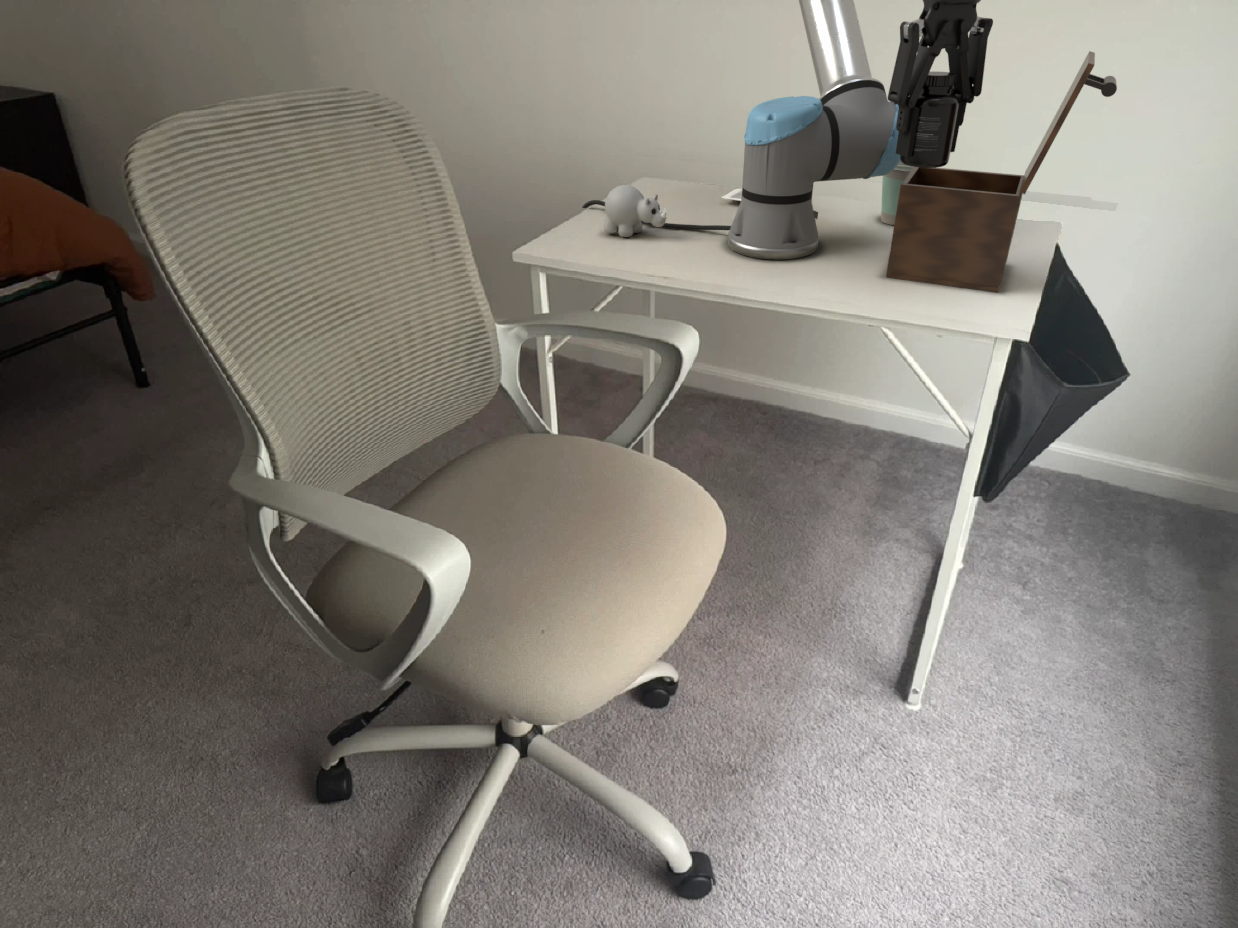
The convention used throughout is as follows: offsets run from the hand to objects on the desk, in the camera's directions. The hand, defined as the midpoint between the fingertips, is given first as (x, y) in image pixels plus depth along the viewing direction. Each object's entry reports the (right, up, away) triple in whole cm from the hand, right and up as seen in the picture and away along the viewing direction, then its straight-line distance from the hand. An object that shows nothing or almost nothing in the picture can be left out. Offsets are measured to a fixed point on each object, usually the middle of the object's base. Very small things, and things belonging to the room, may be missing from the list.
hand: (925, 152), depth 124 cm
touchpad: (-16, +7, +46) cm, 49 cm away
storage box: (+8, -14, +13) cm, 21 cm away
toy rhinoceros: (-41, -4, +30) cm, 51 cm away
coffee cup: (+8, 0, +36) cm, 37 cm away
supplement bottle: (0, -1, +1) cm, 2 cm away
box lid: (+17, +3, -3) cm, 17 cm away
